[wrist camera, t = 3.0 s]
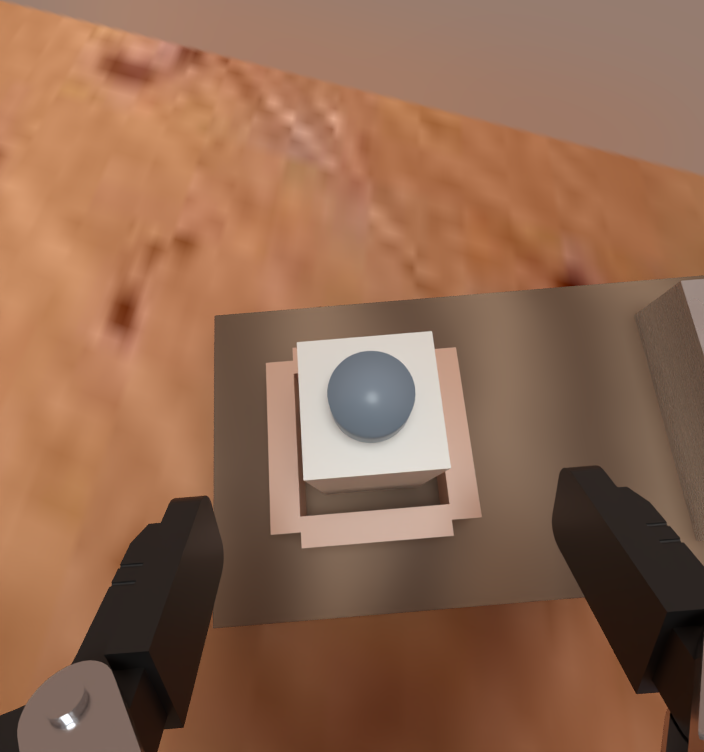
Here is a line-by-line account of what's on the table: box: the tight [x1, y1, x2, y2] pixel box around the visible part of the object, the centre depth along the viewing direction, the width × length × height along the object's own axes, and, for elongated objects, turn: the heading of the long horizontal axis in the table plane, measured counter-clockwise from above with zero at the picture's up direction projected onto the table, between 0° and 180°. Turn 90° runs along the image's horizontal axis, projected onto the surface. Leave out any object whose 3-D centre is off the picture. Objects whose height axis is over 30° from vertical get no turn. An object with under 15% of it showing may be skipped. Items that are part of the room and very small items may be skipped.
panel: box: [213, 276, 704, 628], centre depth 19 cm, size 28×12×2 cm, turn 95°
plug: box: [297, 331, 451, 494], centre depth 15 cm, size 4×4×8 cm
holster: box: [266, 347, 482, 548], centre depth 17 cm, size 7×7×2 cm
